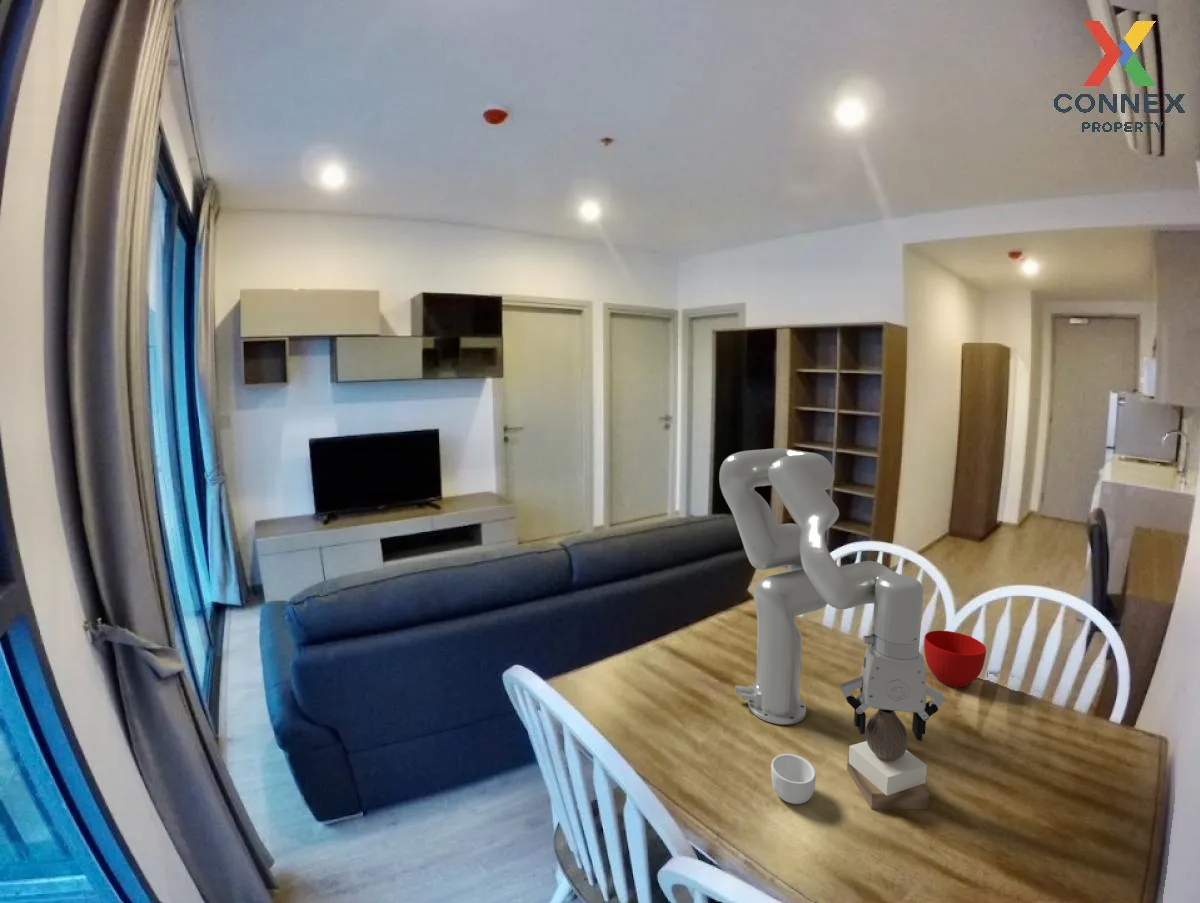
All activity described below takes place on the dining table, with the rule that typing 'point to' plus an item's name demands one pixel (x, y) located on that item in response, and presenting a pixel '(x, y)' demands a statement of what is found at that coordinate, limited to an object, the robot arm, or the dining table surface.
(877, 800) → the base block
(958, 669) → the red rounded bowl
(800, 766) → the teacup
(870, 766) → the top block
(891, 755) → the vase
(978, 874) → the dining table surface
